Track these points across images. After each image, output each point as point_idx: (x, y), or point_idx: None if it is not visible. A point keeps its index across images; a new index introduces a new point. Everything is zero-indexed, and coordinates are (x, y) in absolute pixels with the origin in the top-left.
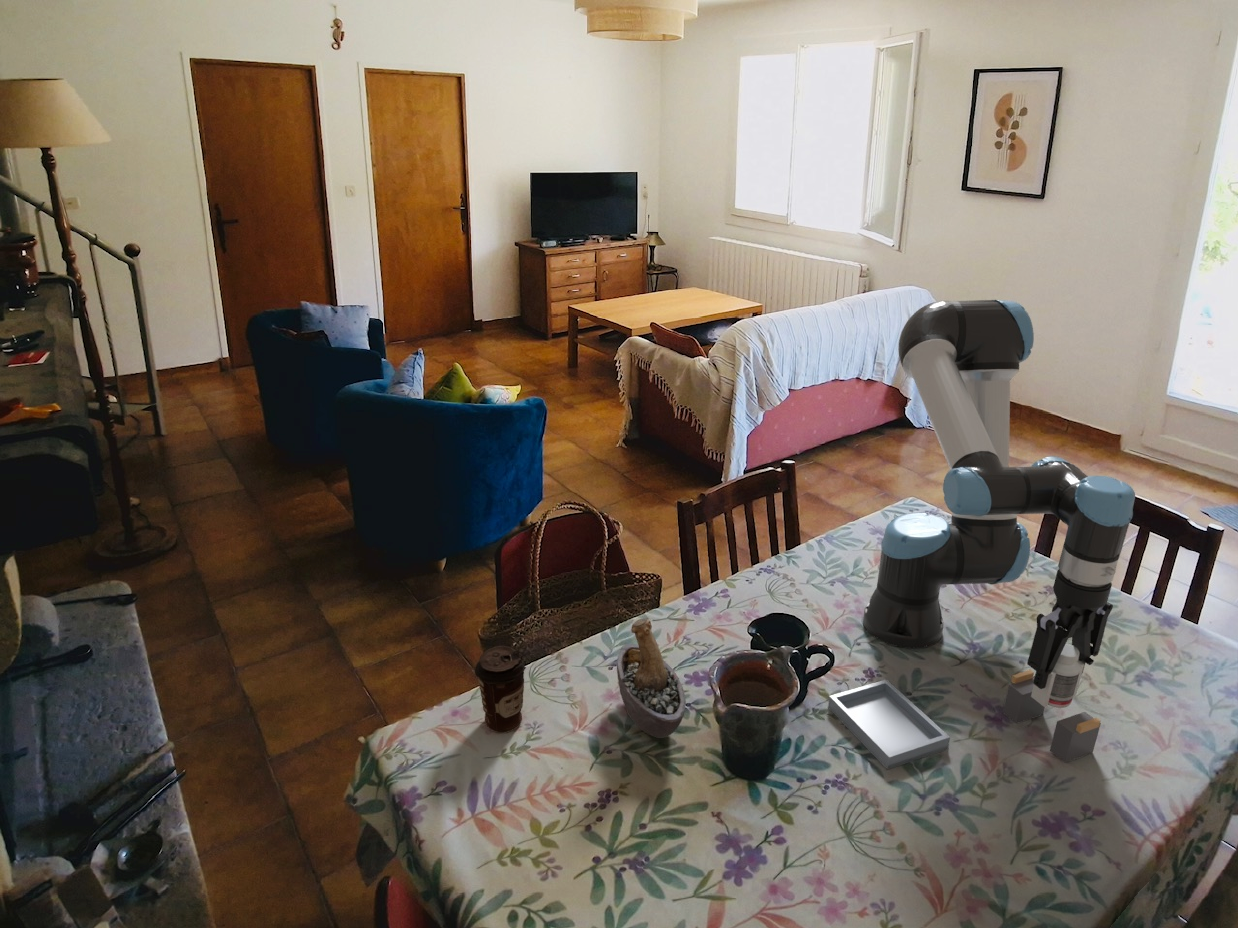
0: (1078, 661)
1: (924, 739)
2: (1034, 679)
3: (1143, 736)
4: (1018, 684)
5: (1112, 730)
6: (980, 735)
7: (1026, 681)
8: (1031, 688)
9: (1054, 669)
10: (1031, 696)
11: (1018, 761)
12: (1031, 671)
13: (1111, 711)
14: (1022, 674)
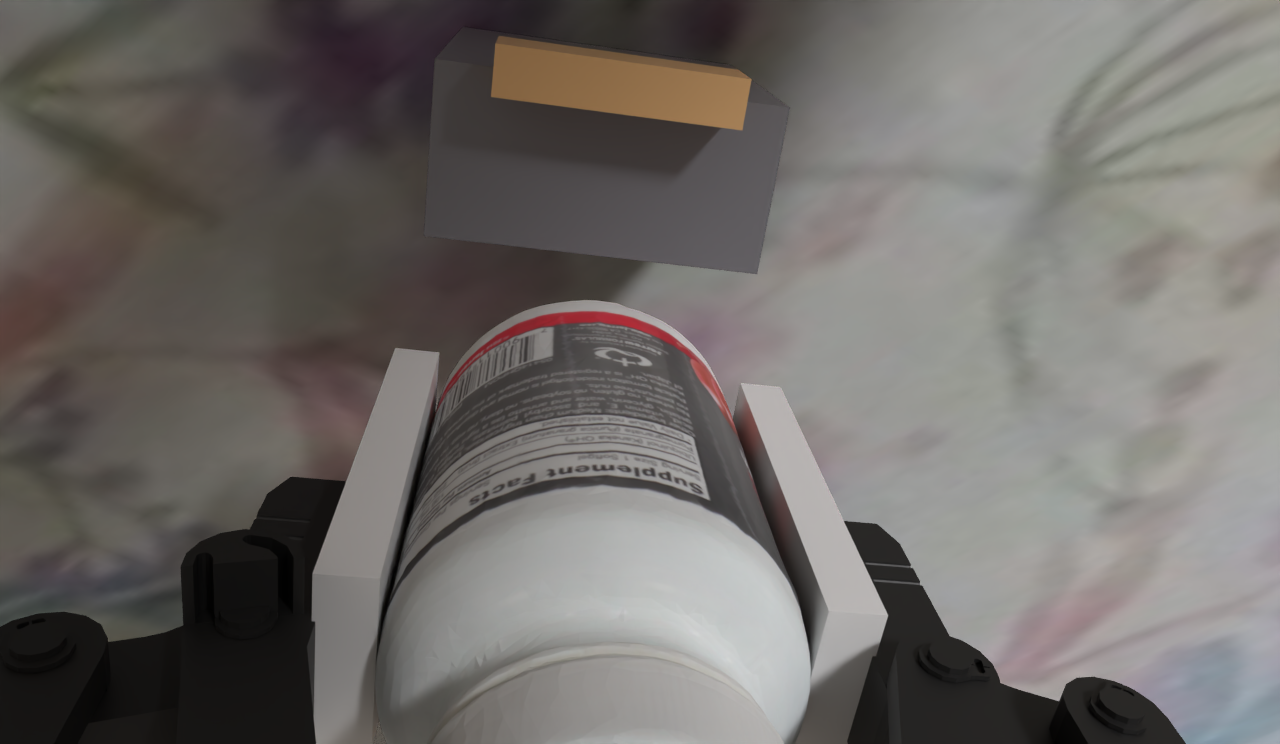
0: (825, 731)
1: None
2: (253, 522)
3: (1017, 588)
4: (517, 114)
5: (930, 490)
6: (98, 118)
7: (632, 120)
8: (580, 213)
9: (386, 739)
10: (395, 354)
11: (166, 407)
12: (732, 107)
13: (1104, 388)
14: (605, 91)
